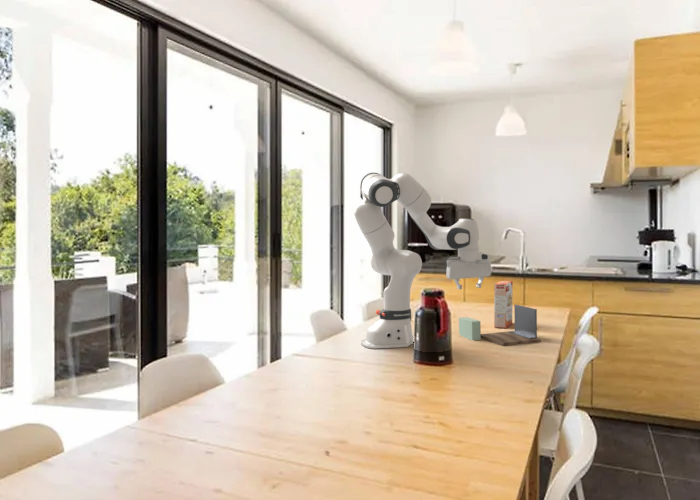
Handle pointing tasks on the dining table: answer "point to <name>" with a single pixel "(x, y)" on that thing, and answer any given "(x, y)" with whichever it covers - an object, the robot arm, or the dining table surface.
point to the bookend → (525, 322)
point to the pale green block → (469, 328)
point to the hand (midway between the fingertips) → (469, 288)
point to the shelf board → (508, 338)
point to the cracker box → (503, 304)
